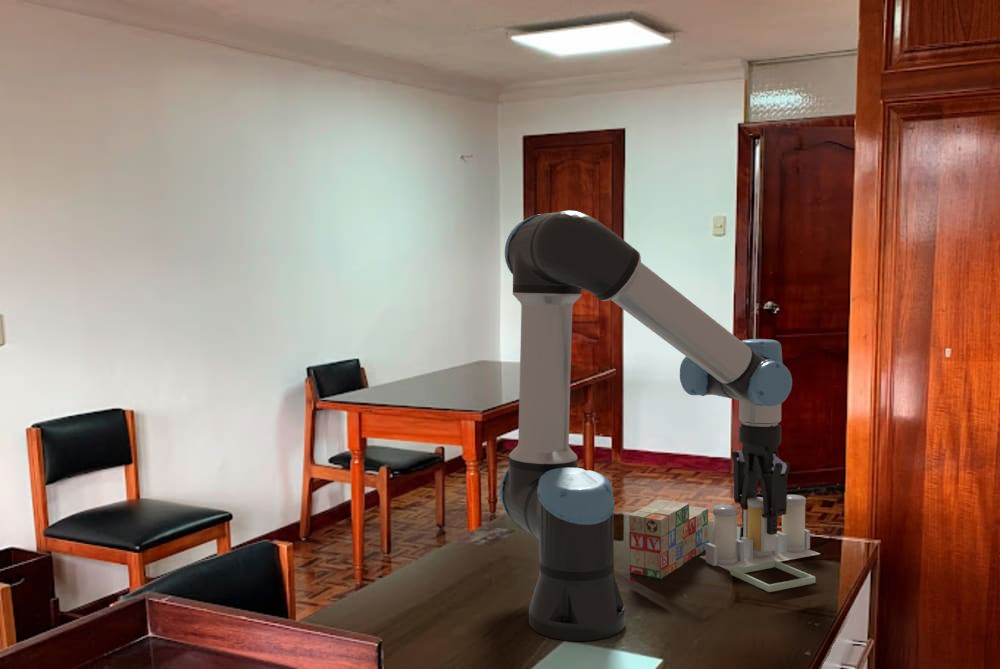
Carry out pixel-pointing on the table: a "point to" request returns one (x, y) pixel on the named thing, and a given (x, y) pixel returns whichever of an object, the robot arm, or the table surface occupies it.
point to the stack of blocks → (666, 537)
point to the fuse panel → (748, 558)
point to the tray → (804, 580)
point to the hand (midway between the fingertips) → (759, 546)
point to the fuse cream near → (725, 533)
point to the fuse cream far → (795, 523)
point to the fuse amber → (756, 524)
